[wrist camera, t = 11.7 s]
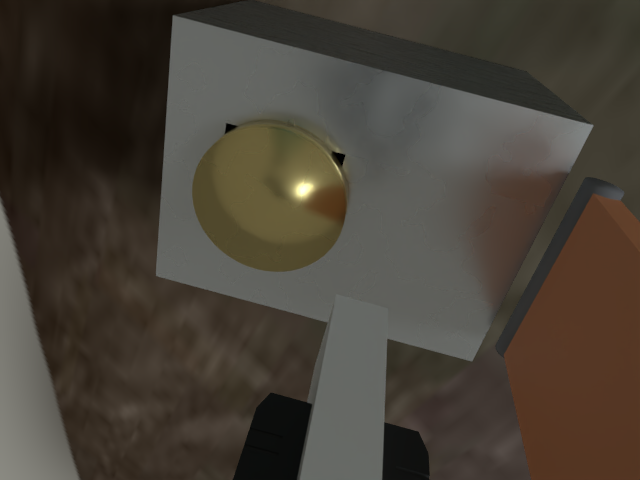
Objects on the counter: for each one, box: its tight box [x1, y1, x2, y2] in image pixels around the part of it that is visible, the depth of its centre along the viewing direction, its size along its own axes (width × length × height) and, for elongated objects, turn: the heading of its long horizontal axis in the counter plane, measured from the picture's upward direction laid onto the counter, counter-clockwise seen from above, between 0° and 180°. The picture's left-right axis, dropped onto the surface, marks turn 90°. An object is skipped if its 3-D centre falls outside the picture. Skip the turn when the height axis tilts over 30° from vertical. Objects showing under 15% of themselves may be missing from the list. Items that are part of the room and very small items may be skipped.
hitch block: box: [156, 0, 593, 361], centre depth 26 cm, size 12×16×11 cm
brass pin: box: [192, 120, 349, 272], centre depth 25 cm, size 6×6×12 cm
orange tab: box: [496, 177, 640, 480], centre depth 16 cm, size 8×12×1 cm
